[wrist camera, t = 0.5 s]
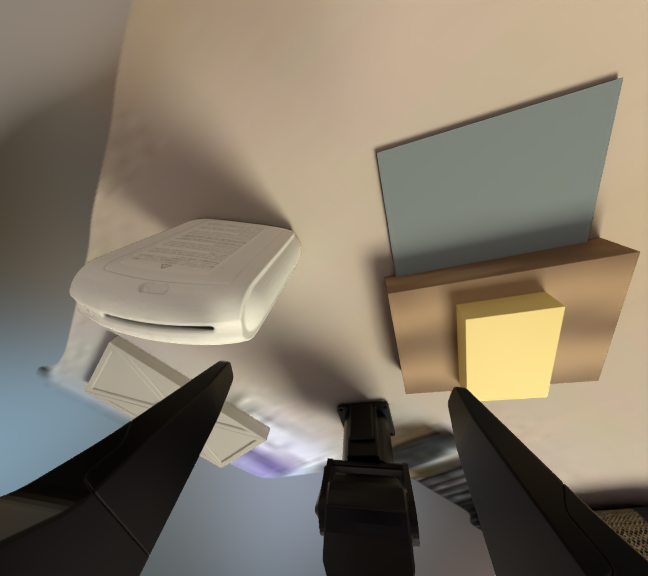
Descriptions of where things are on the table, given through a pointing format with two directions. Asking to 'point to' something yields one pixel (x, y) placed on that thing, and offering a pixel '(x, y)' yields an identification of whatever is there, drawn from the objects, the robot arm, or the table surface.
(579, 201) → the mat
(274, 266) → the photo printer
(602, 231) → the table surface
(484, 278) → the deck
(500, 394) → the pale yellow foam brick
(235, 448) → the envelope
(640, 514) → the portable speaker
